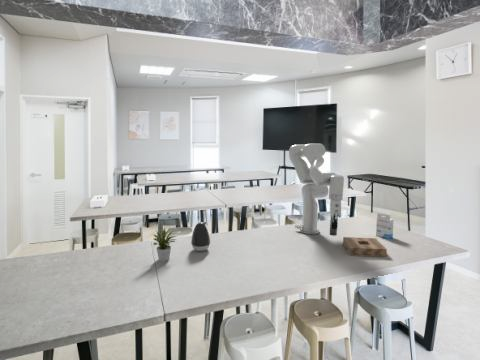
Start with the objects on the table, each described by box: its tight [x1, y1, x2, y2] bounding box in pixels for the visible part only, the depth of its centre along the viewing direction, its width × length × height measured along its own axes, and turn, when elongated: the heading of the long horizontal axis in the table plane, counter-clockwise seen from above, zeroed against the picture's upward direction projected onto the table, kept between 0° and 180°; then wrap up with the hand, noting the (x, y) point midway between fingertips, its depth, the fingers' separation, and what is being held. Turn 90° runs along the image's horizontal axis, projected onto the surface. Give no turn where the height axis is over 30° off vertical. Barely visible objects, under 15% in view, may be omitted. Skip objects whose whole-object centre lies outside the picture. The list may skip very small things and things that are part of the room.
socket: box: [342, 236, 388, 258], centre depth 169 cm, size 18×18×4 cm
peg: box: [329, 215, 338, 237], centre depth 179 cm, size 4×4×12 cm
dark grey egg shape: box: [190, 221, 211, 252], centre depth 169 cm, size 10×10×15 cm
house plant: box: [152, 227, 177, 262], centre depth 154 cm, size 14×14×16 cm
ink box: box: [375, 212, 394, 240], centre depth 192 cm, size 8×5×15 cm, turn 39°
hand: (333, 227), depth 180 cm, fingers closed on peg, 4 cm apart
